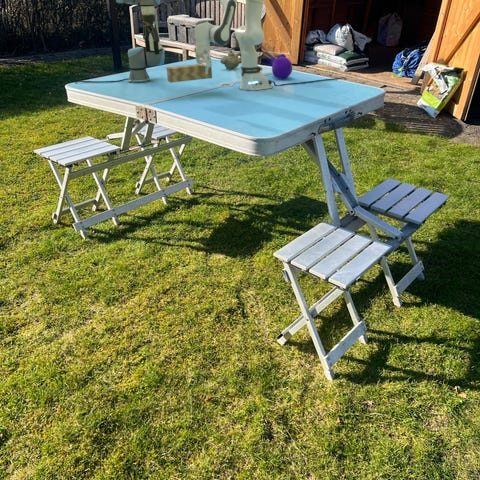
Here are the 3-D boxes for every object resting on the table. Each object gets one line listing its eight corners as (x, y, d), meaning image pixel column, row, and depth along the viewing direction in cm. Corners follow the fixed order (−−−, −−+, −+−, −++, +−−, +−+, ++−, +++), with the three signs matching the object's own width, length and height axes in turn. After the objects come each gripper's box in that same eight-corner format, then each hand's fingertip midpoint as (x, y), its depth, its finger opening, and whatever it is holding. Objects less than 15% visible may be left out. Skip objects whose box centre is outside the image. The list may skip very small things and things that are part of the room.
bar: (170, 82, 278) (168, 68, 274) (167, 80, 283) (166, 67, 279) (212, 78, 287) (211, 64, 283) (209, 76, 292) (208, 63, 288)
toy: (277, 73, 354) (291, 83, 334) (257, 69, 347) (271, 79, 326) (283, 52, 346) (298, 62, 326) (263, 47, 339) (277, 57, 318)
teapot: (224, 71, 366) (223, 51, 359) (217, 69, 375) (216, 50, 367) (246, 68, 375) (246, 49, 368) (239, 67, 384) (239, 48, 376)
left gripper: (162, 15, 258) (166, 54, 268) (146, 13, 276) (150, 50, 287) (150, 15, 254) (154, 55, 265) (134, 13, 273) (139, 51, 283)
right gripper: (213, 51, 272) (214, 75, 279) (202, 47, 289) (204, 70, 296) (203, 52, 270) (205, 76, 277) (193, 48, 287) (195, 70, 294)
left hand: (152, 53), depth 276 cm, fingers open, 13 cm apart
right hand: (204, 73), depth 287 cm, fingers closed on bar, 6 cm apart
